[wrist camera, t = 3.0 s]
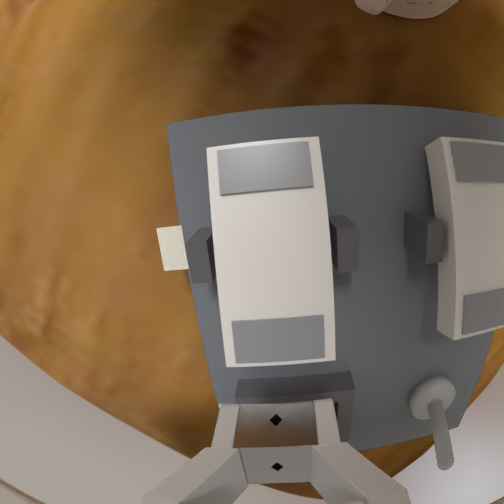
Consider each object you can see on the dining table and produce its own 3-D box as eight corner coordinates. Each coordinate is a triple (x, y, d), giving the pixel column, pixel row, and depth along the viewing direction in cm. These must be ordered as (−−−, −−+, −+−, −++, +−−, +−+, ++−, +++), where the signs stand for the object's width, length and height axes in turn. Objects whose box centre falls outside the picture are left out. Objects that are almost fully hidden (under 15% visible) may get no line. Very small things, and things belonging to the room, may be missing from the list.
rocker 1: (215, 158, 12) (205, 146, 11) (314, 148, 12) (319, 135, 10) (232, 352, 13) (225, 368, 11) (329, 345, 12) (336, 361, 10)
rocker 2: (424, 146, 11) (442, 135, 10) (489, 150, 11) (510, 142, 9) (436, 330, 12) (455, 341, 10) (500, 315, 11) (520, 323, 9)
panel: (166, 132, 15) (76, 120, 7) (480, 120, 13) (578, 117, 5) (223, 429, 21) (205, 516, 13) (445, 402, 19) (481, 474, 12)
